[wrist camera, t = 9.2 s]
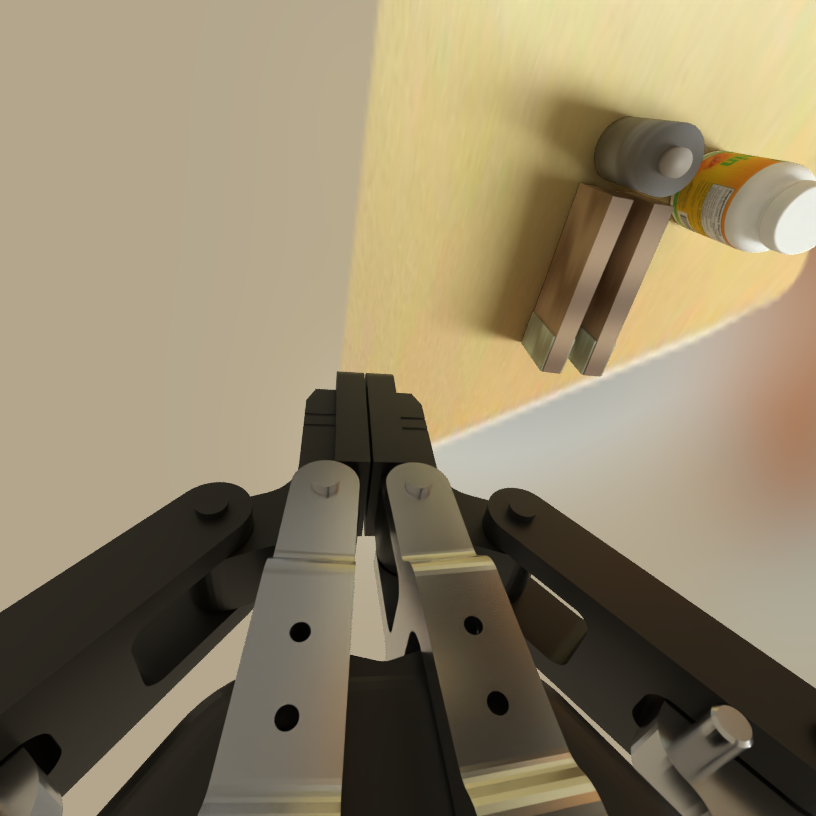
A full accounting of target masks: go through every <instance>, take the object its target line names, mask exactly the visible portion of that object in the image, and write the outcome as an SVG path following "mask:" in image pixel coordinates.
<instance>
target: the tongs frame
mask: <svg viewBox="0 0 816 816" xmlns="http://www.w3.org/2000/svg"><path fill="white" fill-rule="evenodd" d="M703 156H704V139H703V136H702V134H701V132H700V130H699V129H698V128H697V127H696V126H694V125H692V124H690V123H685V122H675V121H666V120H656V119H647V118H637V117H624V118H621V119H619V120H617V121H615V122H613V123H612V124H611V125H610V126H608V127H607V128H606V130H605V131H604V132H603V133H602V135H601V136H600V138H599V140H598V142H597V145H596V148H595V153H594V163H595V167H596V170H597V172H598V173H599V175H600V176H601V177H602V178H604V179H606V180H608V181H611V182H614V183H617V184H619V185H622V186H625V187H628V188H631V189H634V190H636V191H639V192H642V193H645V194H648V195H650V196H654V197H667V196H670V195H673V194H675V193H677V192H679V191H680V190H682V189H683V188H684V187H685V186H686V185H687V184H688V183H689V182H690V181H691V180H692V179H693V177H694V176H695V175H696V173H697V171H698V170H699V168H700V165H701V163H702V160H703ZM616 194H618V195H621V196H624V197H626V198H629V199H631V200H634V201H633V203H632V206H631V208H630V210H629V213H628V215H627V217H626V220H625V222H624V224H623V227H622V229H621V231H620V234H619V236H618V238H617V241H616V243H615V245H614V248H613V250H612V252H611V255H610V257H609V260H608V262H607V264H606V267H605V269H604V271H603V274H602V276H601V278H600V281H599V283H598V285H597V288H596V290H595V292H594V295H593V297H592V299H591V302H590V304H589V306H588V309H587V311H586V313H585V316H584V318H583V321H582V323H581V325H580V328H579V330H578V332H577V335H576V337H575V342H574V344H573V346H572V349H571V351H570V354H569V356H568V359H569V360H570V361H571V362H572V364H573V365H574V366H575V367H576V368H577V370H578V371H579V372H580V373H581V374H583V375H588V376H602V374H603V372H604V369H605V367H606V365H607V363H608V360H609V358H610V356H611V354H612V351H613V349H614V347H615V344H616V340H617V338H618V335H619V333H620V331H621V329H622V326H623V324H624V322H625V320H626V317H627V315H628V313H629V310H630V308H631V306H632V304H633V301H634V299H635V297H636V294H637V292H638V290H639V288H640V285H641V283H642V281H643V279H644V276H645V274H646V272H647V269H648V267H649V265H650V263H651V260H652V258H653V256H654V253H655V251H656V249H657V247H658V244H659V242H660V240H661V238H662V235H663V233H664V231H665V228H666V226H667V224H668V222H669V219H670V217H671V215H672V212H673V210H674V208H675V207H674V206H671V205H668V204H665V203H663V202H660V201H657V200H654V199H652V198H649V197H646V196H643V195H641V194H638V193H634V192H628V191H621V190H617V192H616Z"/></svg>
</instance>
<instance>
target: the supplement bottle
mask: <svg viewBox="0 0 816 816" xmlns="http://www.w3.org/2000/svg"><path fill="white" fill-rule="evenodd" d="M670 205H671V206H674V207H675V208H674V210H673V212H672V215H673V217H674V219H675V220H676V222H677V223H678V224H680V225H681V226H683V227H685V228H687V229H689V230H691V231H694V232H696V233H699V234H701V235H704V236H706V237H709V238H711V239H714V240H716V241H719V242H721V243H723V244H726V245H728V246H731V247H733V248H735V249H738V250H741V251H745V252H750V253H758V252H764V251H768V250H773V251H777V252H780V253H783V254H787V255H795V254H800V253H803V252H805V251H808V250H810V249H811V248H813V247H815V246H816V179H815V176H814V174H813V173H812V172H811V171H810V170H809V169H808V168H806V167H805V166H803V165H800V164H796V163H792V162H787V161H781V160H775V159H769V158H763V157H757V156H751V155H745V154H739V153H734V152H727V151H714V152H710V153H707V154H705V155H704V156H703V160H702V163H701V165H700V168H699V170H698V171H697V173H696V175H695V176H694V177H693V179H692V180H691V181H690V182H689V183H688V184H687V185H686V186H685V187H684V188H683V189H682V190H680V191H679V192H677V193H675V194H673V195H671V201H670Z"/></svg>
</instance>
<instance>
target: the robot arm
mask: <svg viewBox="0 0 816 816" xmlns="http://www.w3.org/2000/svg"><path fill="white" fill-rule="evenodd" d="M363 521H364V533H365V536H375V540H376V553H375V560H374V569H375V576H376V583H377V589H378V596H379V603H380V609H381V616H382V622H383V629H384V635H385V645H386V661H376V660H371V659H367V658H362V657H358V656H353V655H350V645H351V629H352V628H351V627H352V612H353V597H354V580H355V553H356V543H357V536H362V530H363ZM531 574H532V575H533V576H535V577H536V578H537V579H538V580H540V581H541V582H542V583H543V584H544V585H546V586H547V587H548V588H549V589H551V590H552V591H553V592H554V593H556V594H557V595H558V596H559V597H561V598H562V599H563V600H564V601H566V602H567V603H568V604H569V605H571V606H572V607H573V608H574V609H576V610H577V611H578V612H579V613H580V614H581V616H582V617H583V618H584V619H582V618H580V617H579V616H578V615H576V614H575V613H574V612H573V611H571V610H570V609H569V608H568V607H567V606H565V605H564V604H563V603H561V602H560V601H559V600H558V599H557V598H555V597H554V596H553V595H552V594H550V593H549V592H548V591H547V590H545V589H544V588H543V587H542V586H541V585H539V584H538V583H537V582H536V581H534V580H533V579H532V578H531ZM253 608H254V609H253ZM252 609H253V613H252V617H251V621H250V625H249V629H248V633H247V637H246V641H245V645H244V648H243V652H242V656H241V660H240V664H239V669H238V672H237V677H236V680H234V681H232V682H230V683H228V684H227V685H225V686H223V687H222V688H220V689H219V690H217V691H216V692H214V693H213V694H211V695H210V696H209V697H207V698H206V699H205V700H203V701H202V702H201V703H200V704H199V705H198V706H196V707H195V708H194V709H193V710H192V711H191V712H190V713H189V714H188V715H187V716H186V717H185V718H184V719H183V720H182V721H181V722H180V723H179V724H178V725H177V727H176V728H175V729H174V730H173V731H172V732H171V733H170V734H169V735H168V737H167V738H166V739H165V740H164V741H163V742H162V743H161V744H160V746H159V747H158V748H157V749H156V750H155V751H154V752H153V753H152V754H151V756H150V757H149V758H148V759H147V760H146V761H145V762H144V763H143V764H142V766H141V767H140V768H139V769H138V770H137V771H136V772H135V773H134V775H133V776H132V777H131V778H130V779H129V780H128V781H127V783H126V784H125V785H124V786H123V787H122V788H121V789H120V790H119V792H117V794H116V795H115V796H114V797H113V798H112V799H111V800H110V801H109V802H108V804H107V805H106V806H105V807H104V808H103V809H102V810H101V811H100V812H99V814H98V815H97V816H816V688H814V687H813V686H811V685H810V684H808V683H807V682H805V681H804V680H803V679H801V678H800V677H798V676H797V675H795V674H794V673H792V672H791V671H790V670H788V669H787V668H785V667H783V666H782V665H781V664H779V663H778V662H776V661H775V660H774V659H772V658H771V657H769V656H768V655H766V654H765V653H763V652H762V651H761V650H759V649H758V648H756V647H755V646H753V645H752V644H750V643H749V642H748V641H746V640H745V639H743V638H742V637H740V636H739V635H737V634H736V633H735V632H733V631H732V630H730V629H729V628H727V627H726V626H724V625H723V624H722V623H720V622H719V621H717V620H716V619H714V618H713V617H711V616H710V615H709V614H707V613H706V612H704V611H703V610H701V609H700V608H698V607H697V606H696V605H694V604H693V603H691V602H690V601H688V600H687V599H685V598H684V597H683V596H681V595H680V594H678V593H677V592H675V591H674V590H672V589H671V588H670V587H668V586H667V585H665V584H664V583H662V582H661V581H659V580H658V579H656V578H655V577H654V576H652V575H651V574H649V573H648V572H646V571H645V570H643V569H642V568H641V567H639V566H638V565H636V564H635V563H633V562H632V561H630V560H629V559H628V558H626V557H625V556H623V555H622V554H620V553H619V552H617V551H616V550H615V549H613V548H612V547H610V546H609V545H607V544H606V543H604V542H603V541H602V540H600V539H599V538H597V537H596V536H594V535H593V534H591V533H590V532H589V531H587V530H586V529H584V528H583V527H581V526H580V525H578V524H577V523H576V522H574V521H573V520H571V519H570V518H568V517H567V516H565V515H564V514H562V513H561V512H560V511H558V510H557V509H555V508H554V507H552V506H551V505H550V504H548V503H547V502H545V501H544V500H542V499H541V498H539V497H538V496H536V495H535V494H533V493H531V492H529V491H526V490H523V489H517V488H504V489H501V490H498V491H497V492H495V493H493V494H492V496H491V497H490V499H489V500H485V499H481V498H478V497H474V496H470V495H467V494H464V493H461V492H459V491H457V490H455V489H453V488H452V487H451V486H450V483H449V481H448V479H447V478H446V476H445V475H444V474H443V473H442V472H441V471H439V470H438V469H437V467H436V463H435V459H434V455H433V450H432V446H431V442H430V438H429V434H428V431H427V426H426V421H425V417H424V413H423V409H422V405H421V404H420V403H419V402H418V401H417V399H416V398H415V397H414V396H413V395H412V394H407V393H396V388H395V382H394V376H393V375H391V374H374V373H366V375H365V377H364V373H355V372H337V377H336V390H326V389H316V390H315V391H314V392H313V393H312V394H311V395H310V396H309V398H308V399H307V400H306V408H305V417H304V426H303V435H302V444H301V452H300V461H299V468H298V471H297V472H296V473H295V474H294V476H293V478H292V480H291V481H290V482H289V483H287V484H286V485H285V486H283V487H281V488H279V489H277V490H274V491H271V492H268V493H264V494H260V495H255V496H251V497H250V496H249V494H248V493H247V492H246V491H245V490H244V489H243V488H241V487H239V486H237V485H234V484H230V483H225V482H216V483H208V484H204V485H200V486H198V487H195V488H193V489H191V490H190V491H188V492H186V493H185V494H183V495H182V496H180V497H178V498H177V499H175V500H174V501H172V502H171V503H169V504H168V505H166V506H164V507H163V508H161V509H160V510H158V511H157V512H156V513H154V514H152V515H151V516H149V517H147V518H146V519H144V520H143V521H141V522H140V523H138V524H137V525H135V526H134V527H132V528H130V529H129V530H127V531H126V532H125V533H123V534H121V535H120V536H118V537H116V538H115V539H113V540H112V541H111V542H109V543H107V544H106V545H104V546H103V547H101V548H99V549H98V550H96V551H95V552H94V553H92V554H90V555H89V556H87V557H86V558H84V559H82V560H81V561H79V562H78V563H76V564H75V565H73V566H72V567H70V568H68V569H67V570H65V571H64V572H63V573H61V574H59V575H58V576H56V577H55V578H53V579H51V580H50V581H48V582H47V583H45V584H44V585H42V586H41V587H39V588H38V589H36V590H35V591H33V592H31V593H30V594H28V595H27V596H25V597H24V598H22V599H21V600H19V601H18V602H16V603H14V604H13V605H11V606H10V607H8V608H7V609H5V610H3V611H2V612H0V816H62V812H63V804H62V798H61V797H63V795H65V794H66V793H67V792H68V791H69V790H70V789H71V788H72V787H73V786H74V785H75V784H76V783H77V782H78V781H79V780H80V779H81V778H82V777H83V776H84V775H85V774H86V773H87V772H88V771H89V770H90V769H91V768H92V767H93V766H94V765H95V764H96V763H97V762H98V761H99V760H100V759H101V758H102V757H103V756H104V755H105V754H106V753H107V752H108V751H109V750H110V749H111V748H112V747H113V746H114V745H115V744H116V743H117V742H118V741H119V740H121V739H122V738H123V737H124V735H126V734H127V732H128V731H130V730H131V729H132V728H133V727H134V726H135V725H136V724H137V723H138V722H139V721H140V720H141V719H142V718H143V717H144V716H145V715H146V714H147V713H148V712H149V711H150V710H151V709H152V708H153V707H154V706H155V705H156V704H157V703H158V702H159V701H160V700H161V699H162V698H163V697H164V696H165V695H166V694H167V693H168V692H169V691H170V690H171V689H172V688H173V687H174V686H175V685H176V684H177V683H178V682H179V681H181V680H182V678H184V677H185V676H186V675H187V674H188V673H189V672H190V671H191V670H192V669H193V668H194V667H195V666H196V665H197V664H198V663H199V662H200V661H201V660H202V659H203V658H204V657H205V656H206V655H207V654H208V653H209V652H210V651H211V650H212V649H213V648H214V647H215V646H216V645H217V644H218V643H219V642H220V641H221V640H222V639H223V638H224V637H225V636H226V635H227V634H228V633H229V632H230V631H231V630H232V629H233V628H234V627H235V626H236V625H237V624H238V623H240V621H242V620H243V619H244V618H245V617H246V616H247V615H248V614H249V613H250V611H251V610H252ZM536 668H538V669H539V670H540V671H541V672H542V673H543V674H544V675H545V676H546V677H547V678H548V679H550V681H551V682H553V683H554V684H555V685H556V686H557V687H558V688H559V689H560V690H561V691H562V692H563V693H564V694H565V695H567V696H568V697H569V698H570V699H571V700H572V701H573V702H574V703H575V704H576V705H577V706H578V707H580V708H581V709H582V710H583V711H584V712H585V713H586V714H587V715H588V716H589V717H590V718H591V719H592V720H594V721H595V722H596V723H597V724H598V725H599V726H600V727H601V728H602V729H603V730H604V731H605V732H606V733H608V734H609V735H610V736H611V737H612V738H613V739H614V740H615V741H616V742H617V743H618V744H619V745H621V746H622V747H623V748H624V749H625V750H626V751H627V752H628V753H629V754H630V755H631V758H632V763H633V766H632V765H631V764H630V763H629V762H628V761H627V760H625V758H624V757H623V756H621V754H620V753H619V752H618V751H617V750H616V749H614V747H613V746H612V745H610V744H609V743H608V742H607V741H606V740H605V739H604V738H603V737H602V736H601V735H600V734H599V733H598V732H597V731H596V730H595V729H594V728H593V727H592V726H591V725H590V724H589V723H588V722H587V721H586V720H585V719H584V718H583V717H582V716H581V715H580V714H579V713H578V712H577V711H576V710H575V709H574V708H573V707H572V706H571V705H570V704H569V703H568V702H567V701H566V700H565V699H564V698H563V697H562V696H561V695H560V694H559V693H558V692H556V691H555V690H554V689H553V688H552V687H550V686H549V685H548V684H547V683H545V682H544V681H543V680H541V679H540V677H539V674H538V672H537V669H536Z"/></svg>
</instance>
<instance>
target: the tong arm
mask: <svg viewBox="0 0 816 816" xmlns="http://www.w3.org/2000/svg"><path fill="white" fill-rule="evenodd" d="M633 201H634V200H631V199H629V198H626V197H624V196H621V195H618V194H616V193H613V192H611V191H608V190H606V189H603V188H601V187H598V186H593V185H588V184H583V183H580V184H579V187H578V190H577V193H576V196H575V198H574V201H573V204H572V207H571V210H570V212H569V215H568V218H567V221H566V223H565V226H564V229H563V232H562V235H561V237H560V240H559V243H558V246H557V249H556V251H555V254H554V257H553V260H552V262H551V265H550V268H549V271H548V274H547V276H546V279H545V282H544V285H543V288H542V290H541V293H540V296H539V299H538V301H537V304H536V307H535V310H534V312H532V315H531V318H530V321H529V323H528V326H527V329H526V332H525V335H524V337H523V340H522V345H523V346H524V348H525V349H526V351H527V352H528V354H529V355H530V356H531V358H532V359H533V361H534V362H535V364H536V365H537V366H538V368H539V369H540V371H543V372H550V373H559V374H560V373H561V372H562V370H563V368H564V365H565V363H566V361H567V358H568V356H569V354H570V351H571V349H572V346H573V344H574V342H575V337H576V335H577V332H578V330H579V328H580V325H581V323H582V321H583V318H584V316H585V313H586V311H587V309H588V306H589V304H590V302H591V299H592V297H593V295H594V292H595V290H596V288H597V285H598V283H599V281H600V278H601V276H602V274H603V271H604V269H605V267H606V264H607V262H608V260H609V257H610V255H611V252H612V250H613V248H614V245H615V243H616V241H617V238H618V236H619V234H620V231H621V229H622V227H623V224H624V222H625V220H626V217H627V215H628V213H629V210H630V208H631V206H632V203H633Z"/></svg>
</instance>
